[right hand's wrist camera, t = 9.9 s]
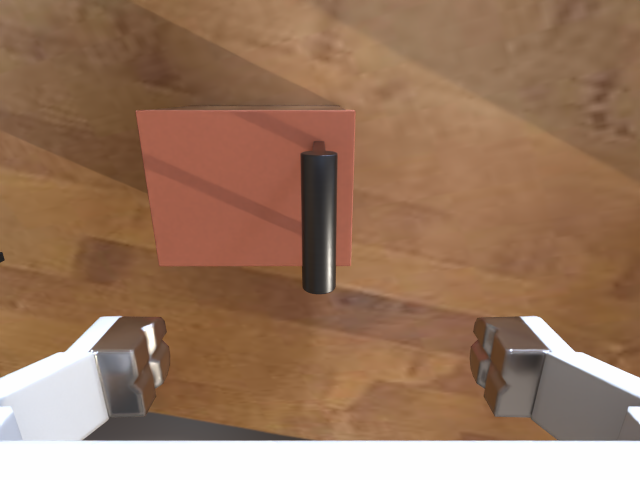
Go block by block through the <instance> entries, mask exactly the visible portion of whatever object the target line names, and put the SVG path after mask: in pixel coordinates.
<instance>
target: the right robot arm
mask: <svg viewBox="0 0 640 480" xmlns="http://www.w3.org/2000/svg"><path fill="white" fill-rule="evenodd" d="M166 332H167V331H166V326H165V321H164V320H163V319H162V318H161V317H129V316H124V317H122V316H105V317H100V318H99V319H98V320H97V321H96V322H95V323H94V324H93V325H92V326H91V327H90V328H89V329H88V330H87V331H86V332H85V333H84V334H83V335H82V336H81V337H80V338H79V339H78V340H77V341H76V342H75V343H74V344H73V345H72V346H71V347H70V348H69V349H68V350H67V351H66V352H58V353H56V354H53V355H51V356H49V357H47V358H44V359H42V360H40V361H38V362H35V363H33V364H31V365H29V366H26V367H24V368H22V369H20V370H17V371H15V372H13V373H10V374H8V375H6V376H4V377H1V378H0V480H640V378H638V377H636V376H634V375H632V374H629V373H627V372H625V371H623V370H620V369H618V368H616V367H614V366H611V365H609V364H607V363H605V362H602V361H600V360H598V359H596V358H593V357H591V356H589V355H587V354H584V353H582V352H574V351H573V350H572V349H571V348H570V347H569V346H568V345H567V344H566V343H565V342H564V341H563V340H562V339H561V338H560V337H559V336H558V335H557V334H556V333H555V332H554V331H553V330H552V329H551V328H550V327H549V326H548V325H547V324H546V323H545V322H544V321H543V320H542V319H541V318H540V317H537V316H522V317H483V318H477V320H476V322H475V325H474V331H473V332H474V334H475V335H476V337H477V339H478V340H477V341H476V342H475V343H474V344H473V345H472V346H471V351H470V366H471V371H472V374H473V377H474V379H475V381H476V383H477V384H478V385H480V386H481V387H483V388H485V392H484V398H485V399H486V401H487V403H488V405H489V407H490V408H491V410H492V412H493V414H494V416H496V417H531V419H532V420H533V421H534V422H535V423H537V424H538V425H539V426H540V427H542V428H543V429H544V430H546V431H547V432H548V433H549V434H551V435H552V436H553V437H555V438H556V439H557V440H558V441H82V440H83V439H84V438H86V437H87V436H88V435H89V434H91V433H92V432H93V431H95V430H96V429H97V428H98V427H100V426H101V425H102V424H103V423H105V422H106V421H107V420H108V419H109V417H142V416H146V414H147V412H148V410H149V408H150V407H151V405H152V403H153V401H154V399H155V398H156V392H155V388H157V387H159V386H160V385H162V384H163V383H164V381H165V379H166V377H167V375H168V370H169V366H170V350H169V346H168V345H167V344H166V343H165V342H164V341H163V340H162V339H163V337H164V335H165V334H166Z"/></svg>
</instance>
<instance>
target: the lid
mask: <svg viewBox="0 0 640 480" xmlns="http://www.w3.org/2000/svg"><path fill="white" fill-rule="evenodd" d="M136 118H137V124H138V131H139V137H140V144H141V150H142V157H143V164H144V170H145V177H146V183H147V190H148V196H149V203H150V209H151V216H152V222H153V229H154V235H155V242H156V249H157V255H158V262H159V266H302V282H303V289H304V290H305V291H307V292H309V293H312V294H326V293H329V292H332V291H333V290H334V289H335V287H336V266H351V244H352V210H353V177H354V144H355V111H354V110H137V111H136Z"/></svg>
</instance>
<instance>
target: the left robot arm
mask: <svg viewBox="0 0 640 480" xmlns="http://www.w3.org/2000/svg"><path fill="white" fill-rule="evenodd" d="M2 261H4V256H3V253H2V252H0V262H2Z"/></svg>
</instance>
